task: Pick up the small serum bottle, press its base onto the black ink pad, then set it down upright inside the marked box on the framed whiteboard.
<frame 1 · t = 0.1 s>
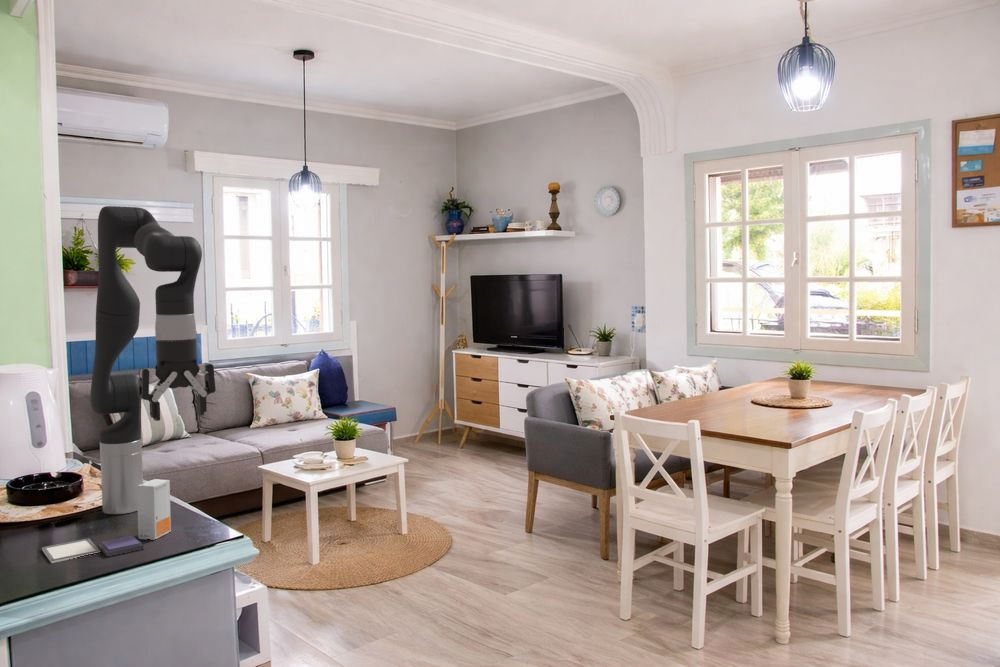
hand: (178, 417, 160), 29 cm above the table, tool pointing down, fingers open, 8 cm apart
ink pad: (121, 548, 168), on the table
skincare box: (155, 536, 177), on the table
framed whiteboard: (71, 551, 167), on the table
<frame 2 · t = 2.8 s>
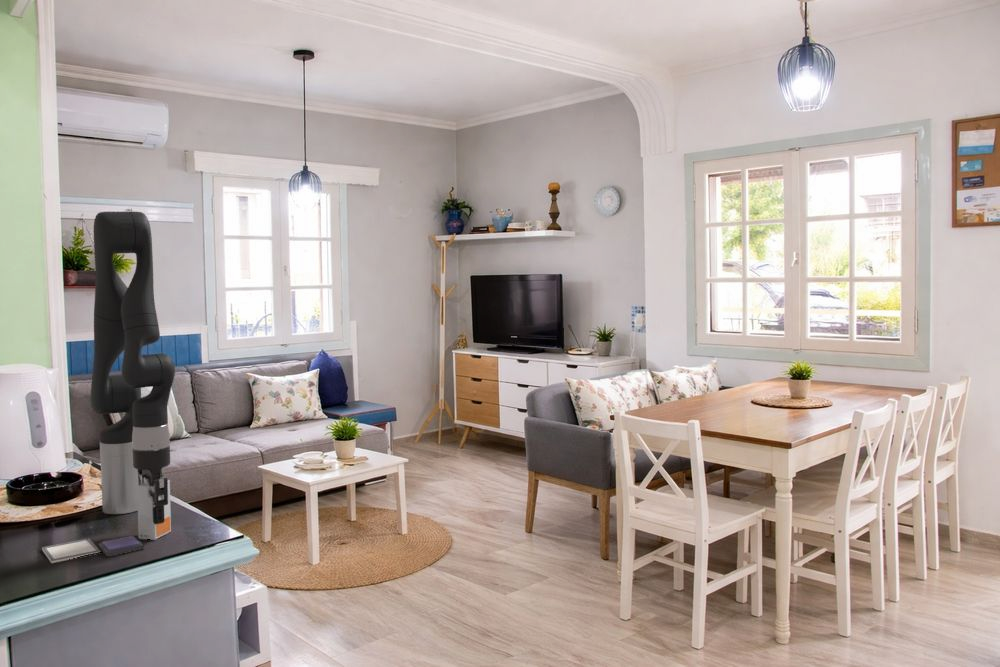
hand: (153, 518, 176), 4 cm above the table, tool pointing down, fingers closed on skincare box, 6 cm apart
skincare box: (155, 536, 177), on the table, touching gripper
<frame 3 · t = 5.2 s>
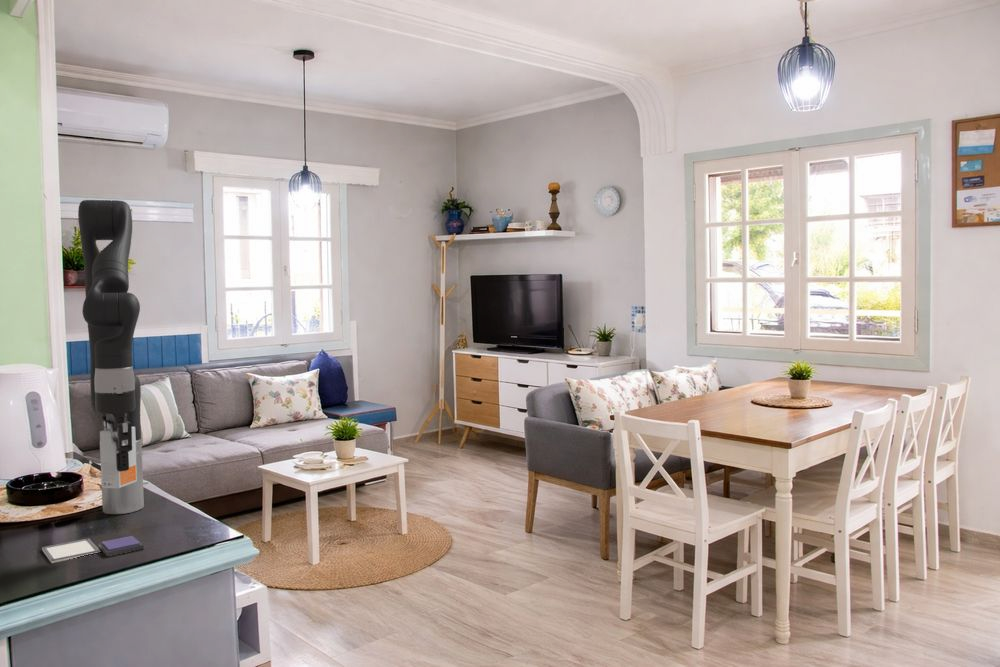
hand: (118, 467, 167), 17 cm above the table, tool pointing down, fingers closed on skincare box, 7 cm apart
skincare box: (120, 485, 168), point 13 cm above the table, touching gripper
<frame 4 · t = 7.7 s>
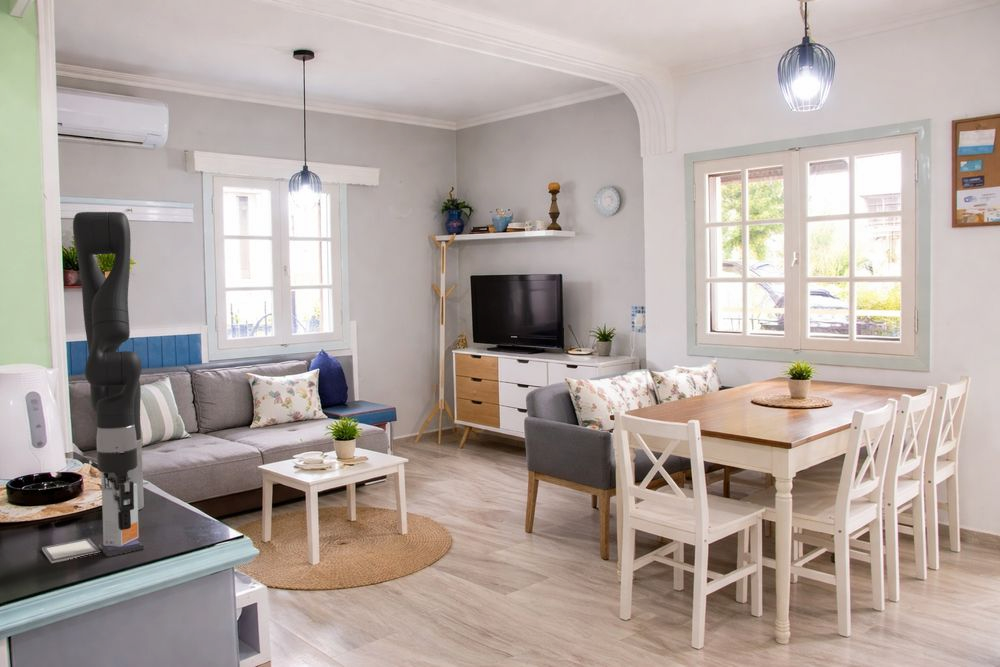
hand: (120, 524, 168), 5 cm above the table, tool pointing down, fingers closed on skincare box, 7 cm apart
skincare box: (121, 543, 168), point 1 cm above the table, touching gripper, ink pad
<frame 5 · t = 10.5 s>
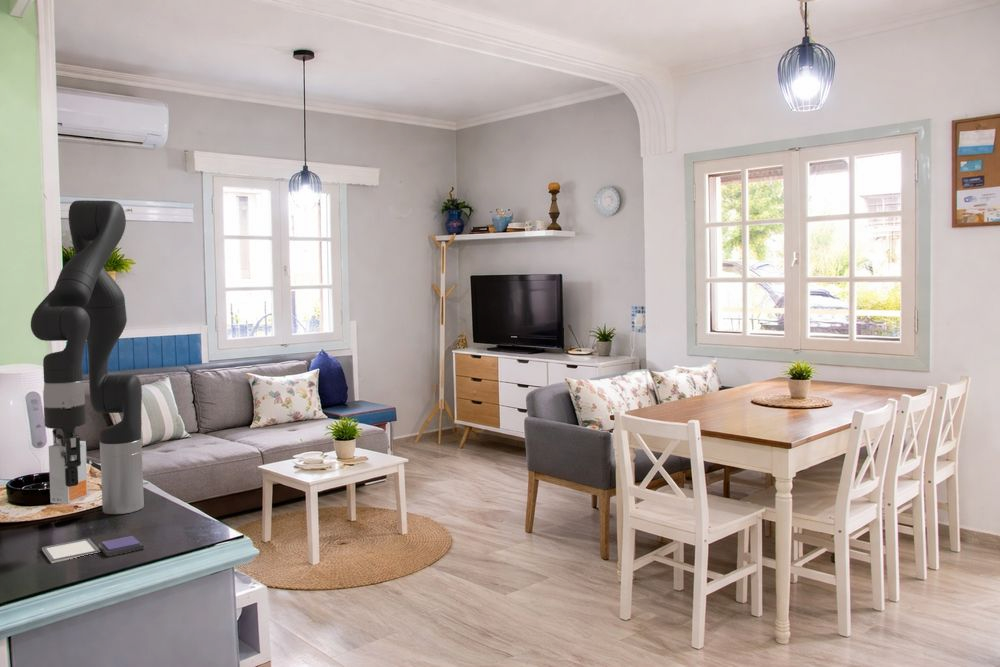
hand: (68, 482, 166), 15 cm above the table, tool pointing down, fingers closed on skincare box, 7 cm apart
skincare box: (69, 500, 166), point 11 cm above the table, touching gripper
when the fingers open (5 cm above the table, at t = 12.7 s): skincare box drops 1 cm, resting on framed whiteboard.
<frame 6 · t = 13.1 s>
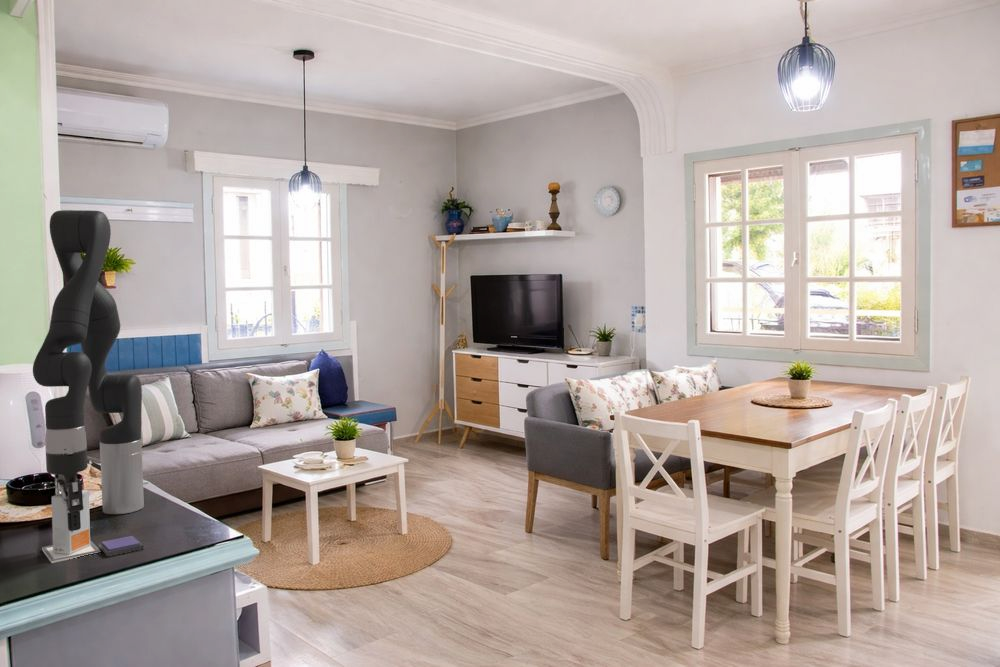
hand: (69, 524, 166), 6 cm above the table, tool pointing down, fingers open, 8 cm apart
skincare box: (72, 550, 167), resting on framed whiteboard
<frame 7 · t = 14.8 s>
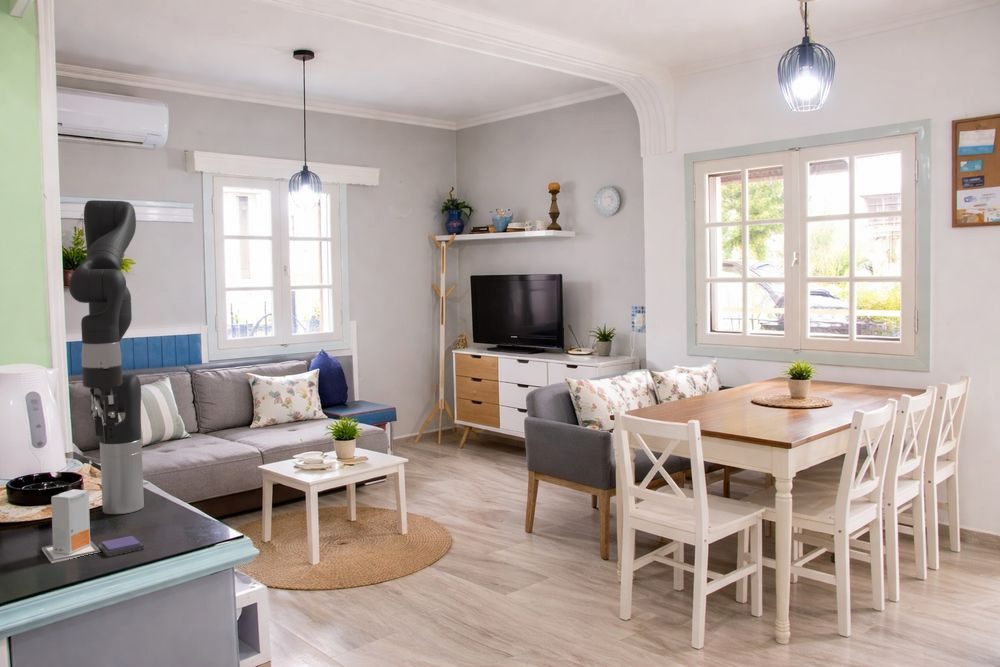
hand: (105, 439, 170), 23 cm above the table, tool pointing down, fingers open, 8 cm apart
nothing on the table moved.
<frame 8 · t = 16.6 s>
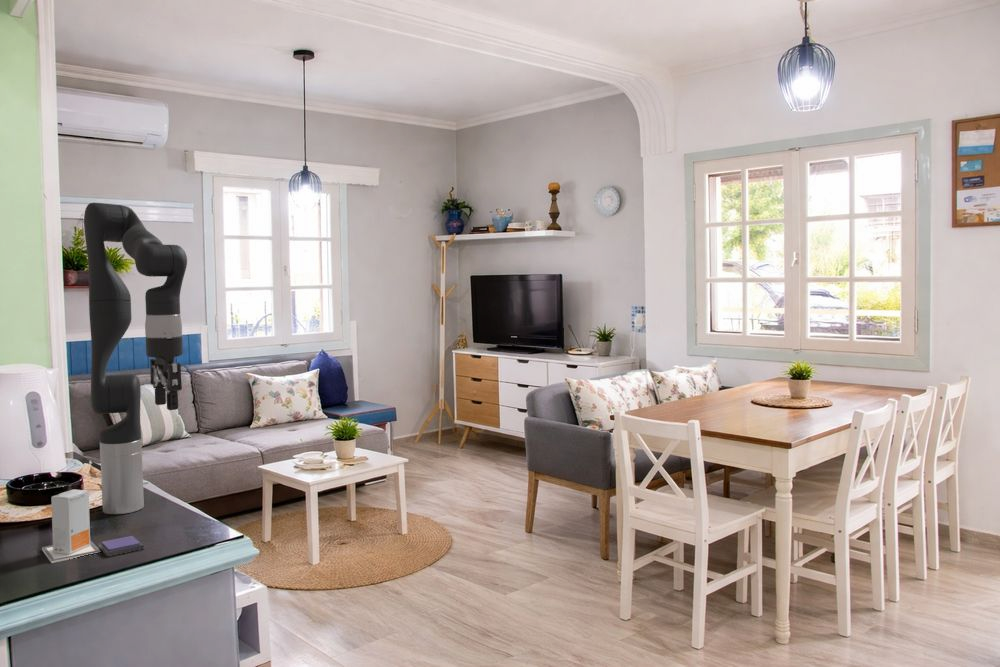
hand: (166, 407, 178), 28 cm above the table, tool pointing down, fingers open, 8 cm apart
nothing on the table moved.
at the end: skincare box inside the target area on the framed whiteboard (0.3 cm from its centre), point 0.2 cm above the framed whiteboard's base; skincare box tilted 0°; the gripper is holding nothing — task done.
